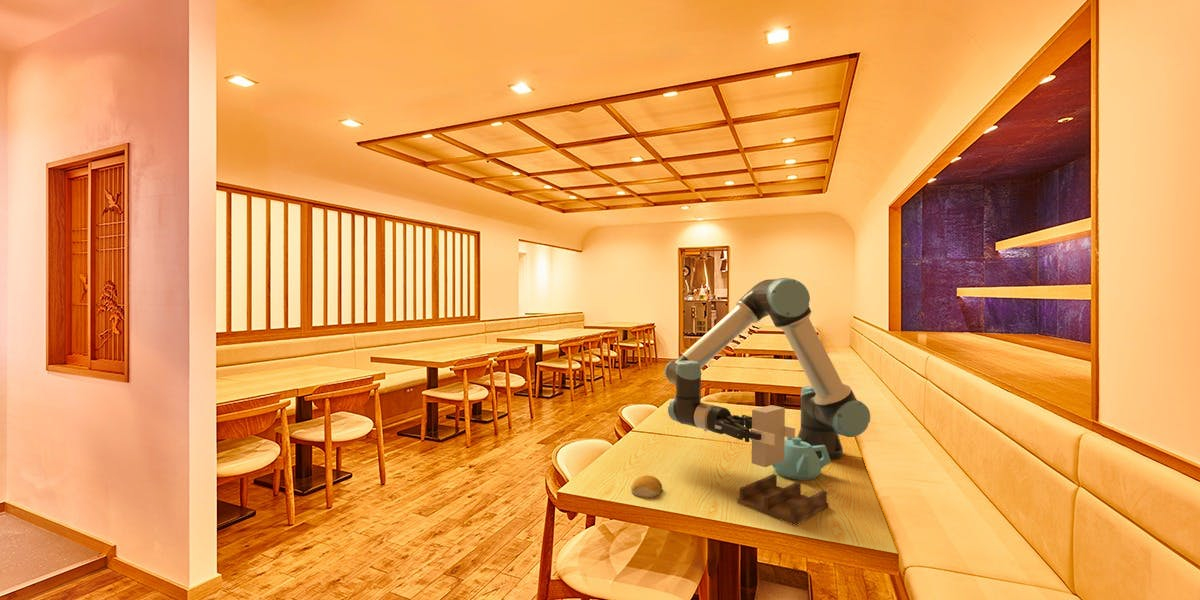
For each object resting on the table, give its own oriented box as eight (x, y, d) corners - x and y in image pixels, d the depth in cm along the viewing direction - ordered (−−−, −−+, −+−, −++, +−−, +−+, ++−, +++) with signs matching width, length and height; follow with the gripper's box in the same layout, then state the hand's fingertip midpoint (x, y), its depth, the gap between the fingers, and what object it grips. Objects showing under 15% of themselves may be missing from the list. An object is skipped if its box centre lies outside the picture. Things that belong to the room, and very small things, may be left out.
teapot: (805, 487, 136) (805, 449, 136) (759, 471, 148) (760, 436, 148) (833, 475, 145) (833, 440, 145) (787, 461, 157) (788, 428, 157)
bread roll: (663, 487, 135) (663, 473, 135) (658, 500, 127) (658, 485, 127) (634, 483, 138) (635, 469, 138) (627, 496, 129) (628, 481, 129)
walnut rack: (771, 487, 135) (771, 473, 135) (828, 507, 123) (828, 491, 123) (737, 502, 125) (738, 487, 125) (796, 525, 113) (796, 508, 112)
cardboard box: (770, 456, 131) (771, 405, 131) (784, 460, 128) (784, 407, 128) (751, 463, 126) (752, 409, 125) (765, 467, 122) (765, 412, 122)
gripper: (735, 425, 148) (805, 443, 130) (688, 437, 134) (760, 459, 116) (735, 400, 148) (806, 415, 130) (688, 411, 134) (760, 428, 116)
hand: (784, 436), depth 123 cm, fingers closed on cardboard box, 9 cm apart
